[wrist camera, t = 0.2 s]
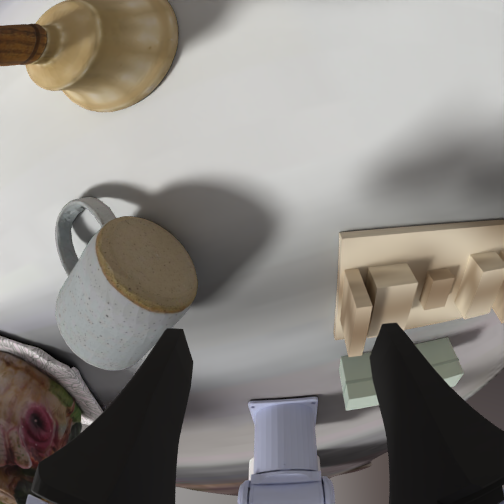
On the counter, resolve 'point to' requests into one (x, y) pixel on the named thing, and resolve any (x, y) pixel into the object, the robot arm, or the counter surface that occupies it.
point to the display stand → (417, 277)
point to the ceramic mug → (120, 286)
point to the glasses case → (360, 376)
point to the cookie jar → (36, 414)
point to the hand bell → (96, 50)
